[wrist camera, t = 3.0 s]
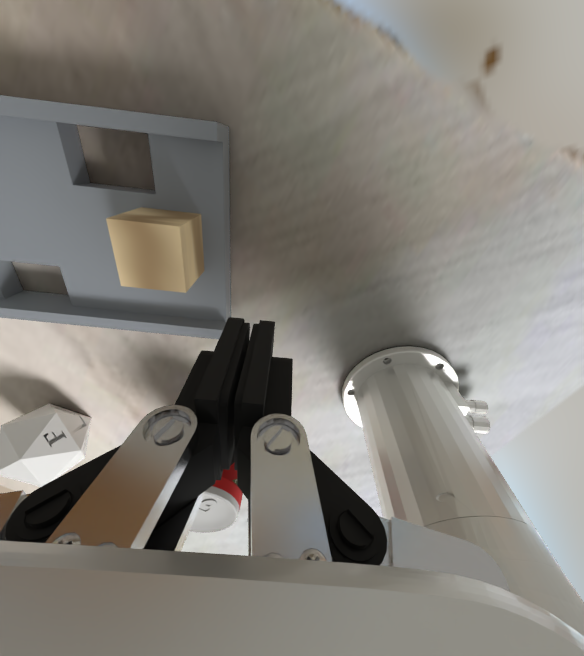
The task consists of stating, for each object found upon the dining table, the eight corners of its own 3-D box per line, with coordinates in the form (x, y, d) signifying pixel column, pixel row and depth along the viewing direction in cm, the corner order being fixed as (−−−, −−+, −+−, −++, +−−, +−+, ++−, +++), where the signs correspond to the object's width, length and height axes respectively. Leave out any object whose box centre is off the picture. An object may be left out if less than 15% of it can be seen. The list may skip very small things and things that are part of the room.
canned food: (264, 412, 35) (251, 505, 26) (239, 448, 39) (220, 540, 30) (205, 389, 34) (169, 480, 24) (185, 429, 37) (147, 521, 28)
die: (115, 437, 40) (85, 467, 30) (49, 475, 37) (-4, 520, 28) (82, 387, 39) (42, 402, 30) (14, 422, 37) (-53, 451, 27)
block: (201, 214, 22) (179, 226, 18) (204, 270, 24) (185, 292, 20) (141, 207, 21) (105, 218, 18) (150, 264, 24) (121, 286, 20)
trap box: (229, 126, 20) (209, 119, 16) (230, 320, 29) (218, 349, 24) (-150, 80, 20) (-277, 59, 15) (-36, 293, 28) (-97, 318, 24)
